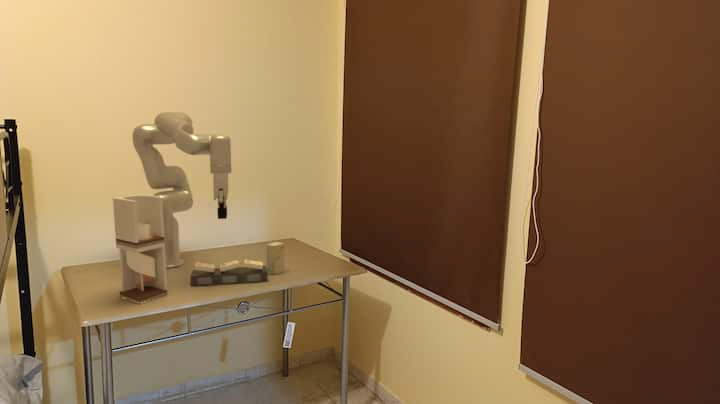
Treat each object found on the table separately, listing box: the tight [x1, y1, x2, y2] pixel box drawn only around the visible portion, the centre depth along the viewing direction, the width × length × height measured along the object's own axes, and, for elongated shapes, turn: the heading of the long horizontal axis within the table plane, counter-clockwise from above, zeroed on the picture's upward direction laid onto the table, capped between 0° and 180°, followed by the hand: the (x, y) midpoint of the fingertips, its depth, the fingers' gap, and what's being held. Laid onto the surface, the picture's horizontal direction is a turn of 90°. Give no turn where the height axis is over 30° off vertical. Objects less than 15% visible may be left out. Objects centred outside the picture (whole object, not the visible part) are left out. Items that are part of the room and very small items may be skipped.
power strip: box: [190, 265, 268, 288], centre depth 184 cm, size 28×8×4 cm, turn 104°
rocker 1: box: [194, 261, 216, 272], centre depth 181 cm, size 7×4×2 cm, turn 104°
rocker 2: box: [243, 259, 264, 269], centre depth 185 cm, size 7×4×2 cm, turn 104°
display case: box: [112, 193, 168, 303], centre depth 164 cm, size 11×11×35 cm
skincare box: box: [266, 241, 285, 276], centre depth 194 cm, size 6×4×12 cm
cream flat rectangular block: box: [219, 259, 240, 272], centre depth 183 cm, size 7×4×2 cm, turn 104°
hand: (222, 216), depth 180 cm, fingers open, 4 cm apart
